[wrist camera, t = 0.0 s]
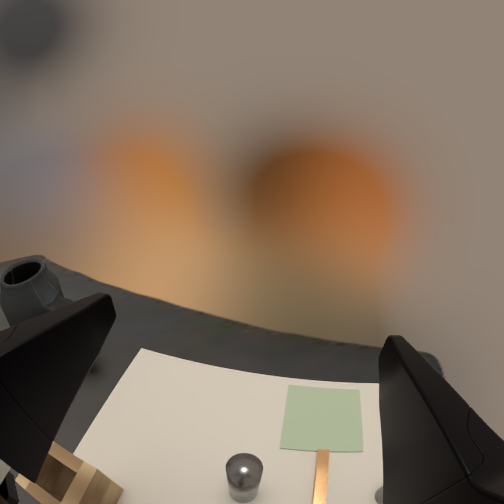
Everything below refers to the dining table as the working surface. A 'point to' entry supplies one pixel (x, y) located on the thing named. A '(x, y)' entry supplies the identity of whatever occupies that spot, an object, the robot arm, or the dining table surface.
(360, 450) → the course mat
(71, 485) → the oak open box
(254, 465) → the wire and posts
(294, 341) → the dining table surface
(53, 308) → the dark grey holder
